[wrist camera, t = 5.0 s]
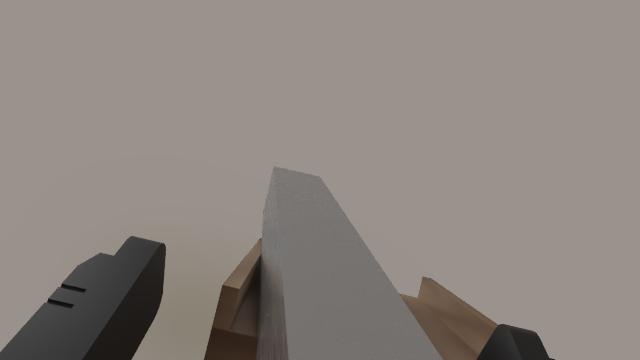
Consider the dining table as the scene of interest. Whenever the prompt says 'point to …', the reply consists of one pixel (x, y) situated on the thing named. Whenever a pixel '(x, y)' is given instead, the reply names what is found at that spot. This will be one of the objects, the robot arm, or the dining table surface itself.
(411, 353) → the steel bar
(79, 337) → the robot arm
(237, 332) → the stand
